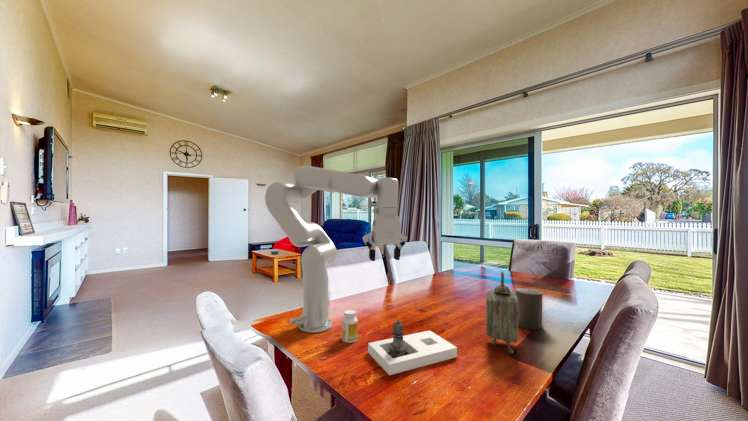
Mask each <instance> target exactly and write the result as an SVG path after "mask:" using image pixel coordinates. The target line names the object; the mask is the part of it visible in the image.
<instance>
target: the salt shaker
mask: <svg viewBox="0 0 748 421" xmlns="http://www.w3.org/2000/svg"><path fill="white" fill-rule="evenodd" d="M403 336H405V333H404V324H403V323H402V322H401V321H400V319H397V321H395V322H394V323H393V332H392V338H393V343H390V344H389V346H388V347H389V350H390V352H389V353H390V354H389V355H390V356H391V357H392V358H397V357H401V356H405V354H406V353H407V352H406V350H407V348H408V347H407V345H406V344H404V343H403Z"/></svg>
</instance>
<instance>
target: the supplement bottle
mask: <svg viewBox="0 0 748 421" xmlns="http://www.w3.org/2000/svg"><path fill="white" fill-rule="evenodd" d="M343 313H344V315H343V316H344V317H343V318H342V320H341V324H342V325H341V340H342V342H344V343H348V344H349V343H350V344H351V343H355V342H357V341H358V336H359V335H358V334H359V333H358V331H359V330H358V327H359V325H358V324H359V320H358V318H357V317H356V315H357V312H356V310H352V309H348V310H345V311H344V312H343Z"/></svg>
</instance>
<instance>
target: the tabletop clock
mask: <svg viewBox="0 0 748 421" xmlns="http://www.w3.org/2000/svg"><path fill="white" fill-rule="evenodd" d="M500 272H501V273H500V278H501V279H500V284H498V285H496V286H495V288H494V289H491V290H488V291H486V295H485V299H486V301H485V303H486V304H485V331H486V332H485V335H487V336H488V337H490V338H491V339H492V340H491V344H492V345H493V346H495V345H497V344H498V342H497V340H500V341H504V342H505V345H506V346H507V348H508V350H507V352H508V354H509V355H513V354H514V350H513V349H512V348H511V346H510V342H513V343H518V339H519V337H518V333H519V326H518V300H517V297H516V294H515V292H516V291H515V292H514V291H511V289H510V287H508V286H507V285H505V273H504V271H500Z"/></svg>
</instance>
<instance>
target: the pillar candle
mask: <svg viewBox="0 0 748 421" xmlns="http://www.w3.org/2000/svg"><path fill="white" fill-rule="evenodd" d="M515 294H516V297H517V300H518V327H520V328H523V329H527V330H534V331H537V330H541V329H542V328H543V325H542V324H543V292H542V291H541V290H537V289H533V288H529V287H527V288H525V287H520V288H519V287H517V288H515Z"/></svg>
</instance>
